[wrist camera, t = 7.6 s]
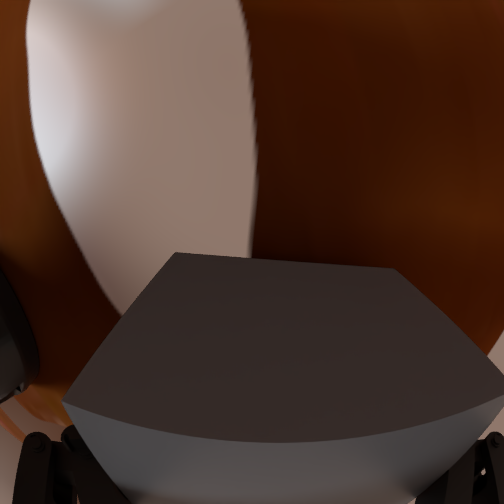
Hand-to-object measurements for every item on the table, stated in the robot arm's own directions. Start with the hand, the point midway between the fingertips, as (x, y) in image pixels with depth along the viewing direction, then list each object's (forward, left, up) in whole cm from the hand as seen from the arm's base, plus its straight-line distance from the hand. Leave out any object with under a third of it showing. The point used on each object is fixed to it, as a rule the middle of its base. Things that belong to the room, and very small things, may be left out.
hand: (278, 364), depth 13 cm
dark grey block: (0, 0, -1) cm, 1 cm away
